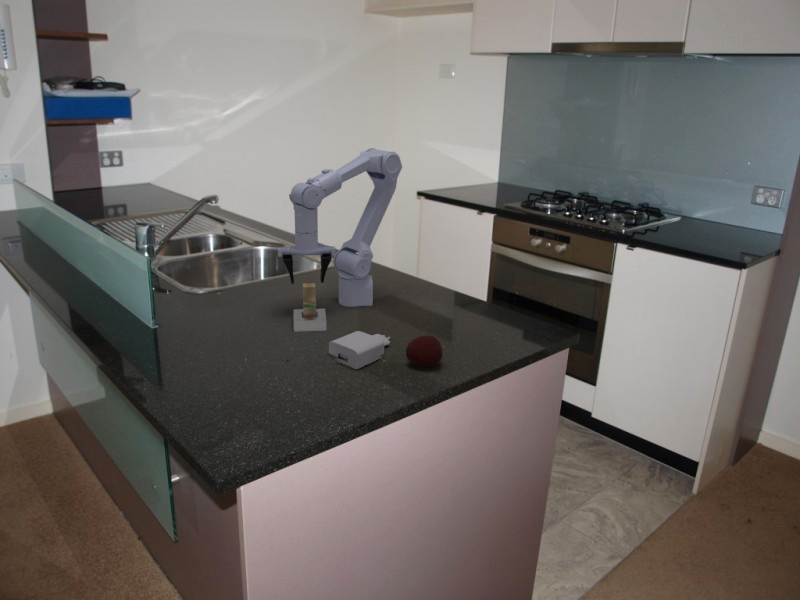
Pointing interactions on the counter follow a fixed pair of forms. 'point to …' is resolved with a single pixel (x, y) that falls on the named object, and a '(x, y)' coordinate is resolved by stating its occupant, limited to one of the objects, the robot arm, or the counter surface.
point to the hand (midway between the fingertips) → (307, 282)
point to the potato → (424, 351)
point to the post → (309, 299)
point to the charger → (358, 348)
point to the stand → (309, 321)
